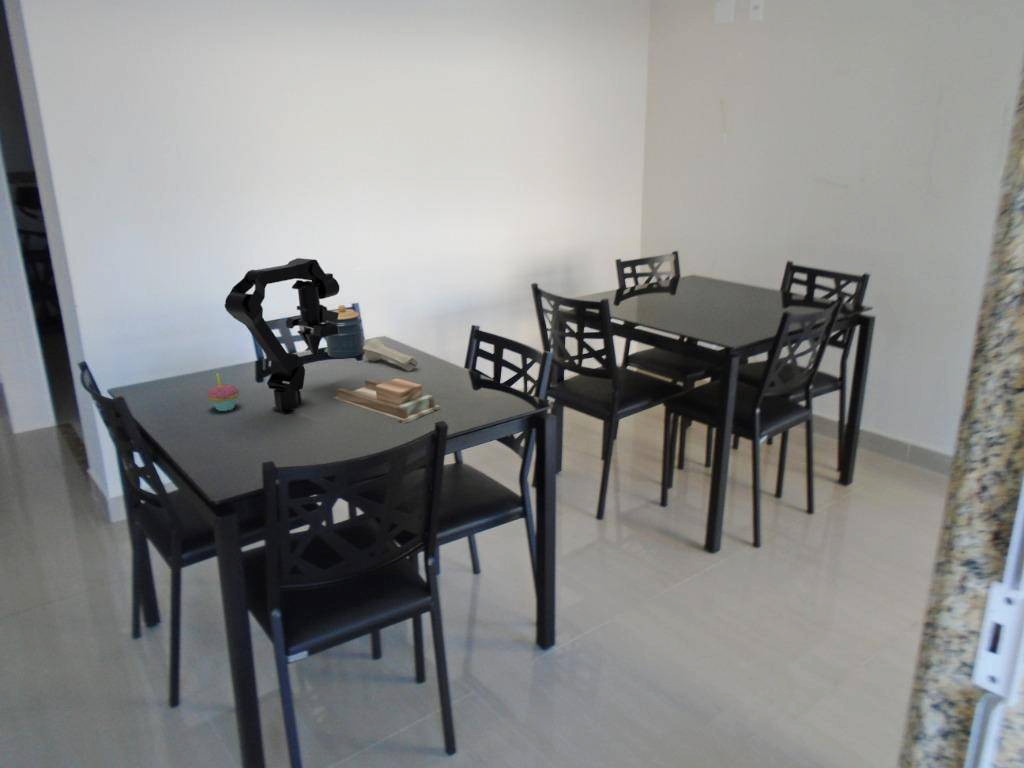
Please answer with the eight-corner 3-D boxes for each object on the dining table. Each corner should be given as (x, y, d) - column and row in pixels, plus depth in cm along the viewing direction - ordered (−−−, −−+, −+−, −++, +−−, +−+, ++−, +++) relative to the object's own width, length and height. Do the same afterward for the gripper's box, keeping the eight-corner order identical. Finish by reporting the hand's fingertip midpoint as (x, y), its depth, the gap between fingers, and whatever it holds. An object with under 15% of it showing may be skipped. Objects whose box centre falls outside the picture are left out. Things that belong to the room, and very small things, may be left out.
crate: (401, 413, 204) (400, 392, 202) (376, 405, 211) (375, 385, 209) (422, 404, 210) (421, 384, 209) (398, 397, 217) (396, 378, 215)
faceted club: (381, 352, 262) (428, 369, 247) (362, 364, 257) (409, 382, 242) (374, 331, 258) (422, 347, 242) (355, 342, 253) (402, 359, 237)
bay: (403, 424, 200) (402, 410, 199) (333, 401, 218) (332, 388, 217) (439, 409, 211) (439, 396, 209) (369, 388, 229) (368, 376, 227)
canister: (366, 357, 261) (362, 307, 255) (328, 360, 257) (323, 310, 251) (362, 347, 272) (358, 300, 267) (326, 350, 269) (321, 302, 263)
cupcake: (235, 413, 210) (230, 373, 206) (205, 414, 209) (198, 374, 205) (244, 403, 218) (238, 364, 214) (214, 404, 217) (208, 365, 213)
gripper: (352, 301, 214) (356, 353, 219) (314, 293, 226) (319, 343, 231) (319, 308, 206) (324, 362, 211) (282, 299, 218) (288, 350, 223)
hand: (314, 354), depth 219 cm, fingers closed
